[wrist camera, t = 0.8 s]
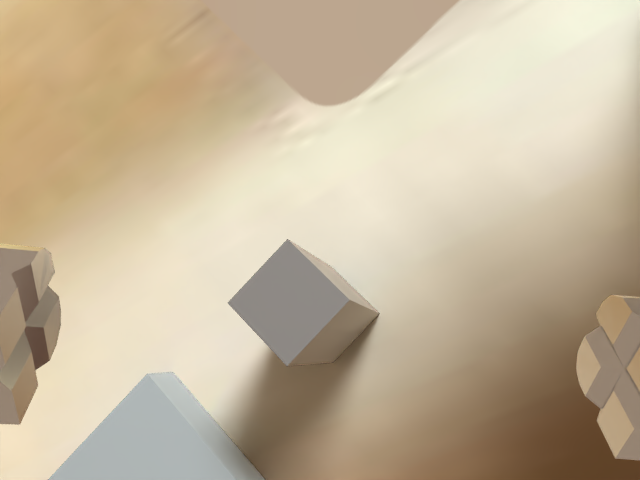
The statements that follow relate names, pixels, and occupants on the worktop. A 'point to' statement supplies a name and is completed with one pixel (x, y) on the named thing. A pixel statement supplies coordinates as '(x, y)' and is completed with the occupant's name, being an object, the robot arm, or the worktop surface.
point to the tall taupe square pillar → (302, 307)
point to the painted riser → (158, 440)
